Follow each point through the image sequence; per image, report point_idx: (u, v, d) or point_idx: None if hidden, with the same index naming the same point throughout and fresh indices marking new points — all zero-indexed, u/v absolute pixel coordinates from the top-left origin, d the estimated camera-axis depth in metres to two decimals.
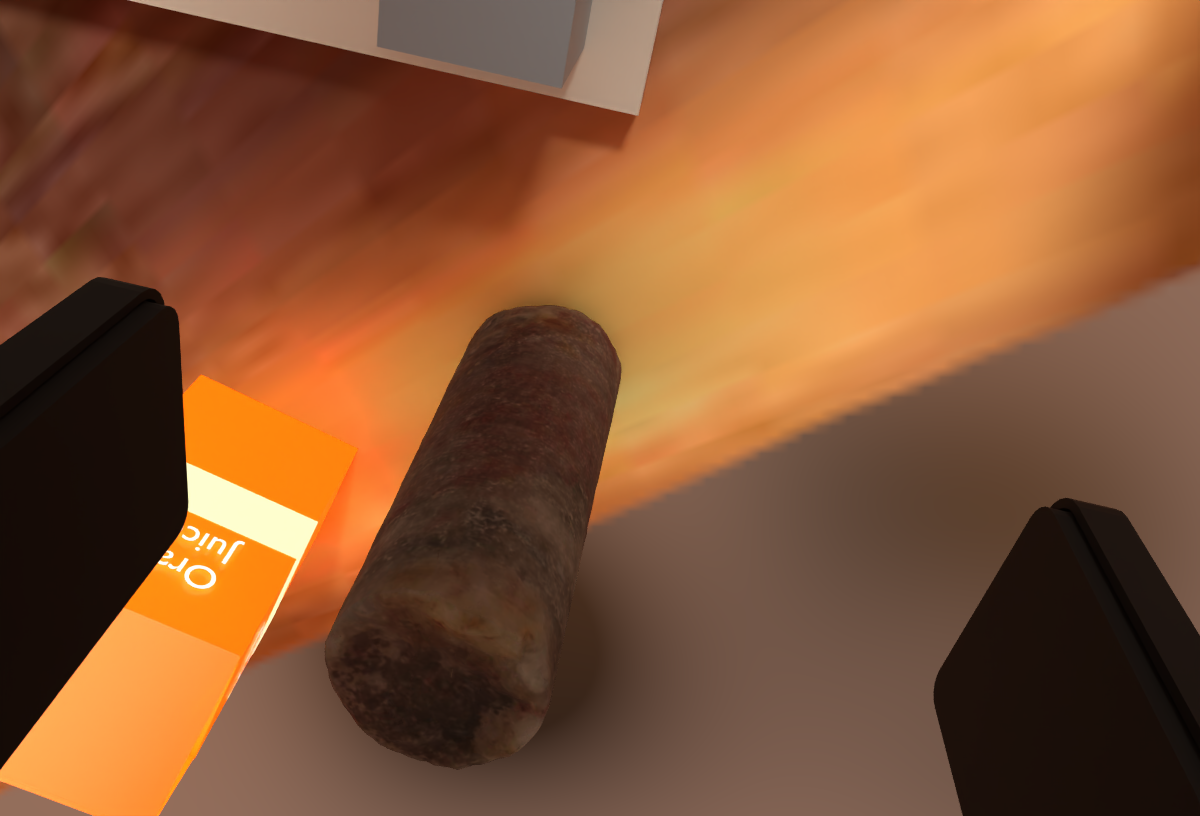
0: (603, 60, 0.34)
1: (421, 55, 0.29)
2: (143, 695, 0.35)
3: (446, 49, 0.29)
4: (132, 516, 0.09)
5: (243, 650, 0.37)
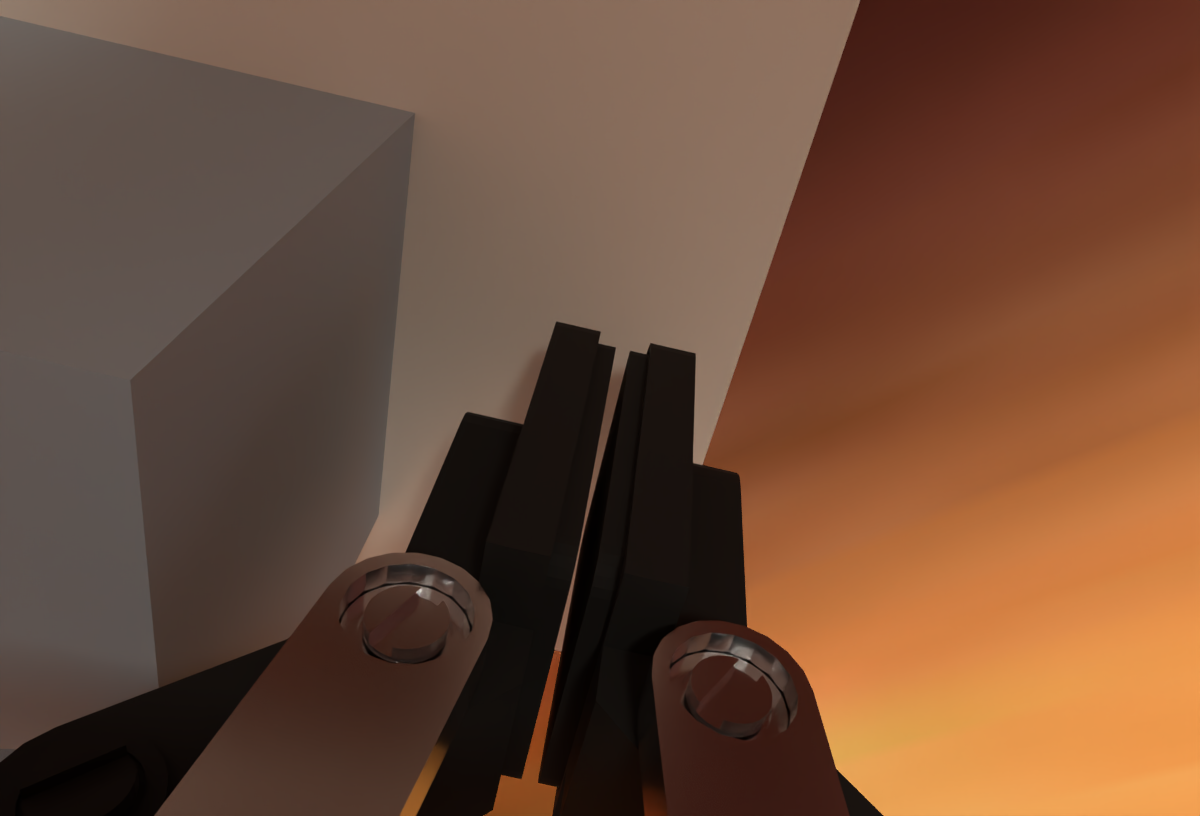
0: None
1: None
2: None
3: None
4: None
5: None
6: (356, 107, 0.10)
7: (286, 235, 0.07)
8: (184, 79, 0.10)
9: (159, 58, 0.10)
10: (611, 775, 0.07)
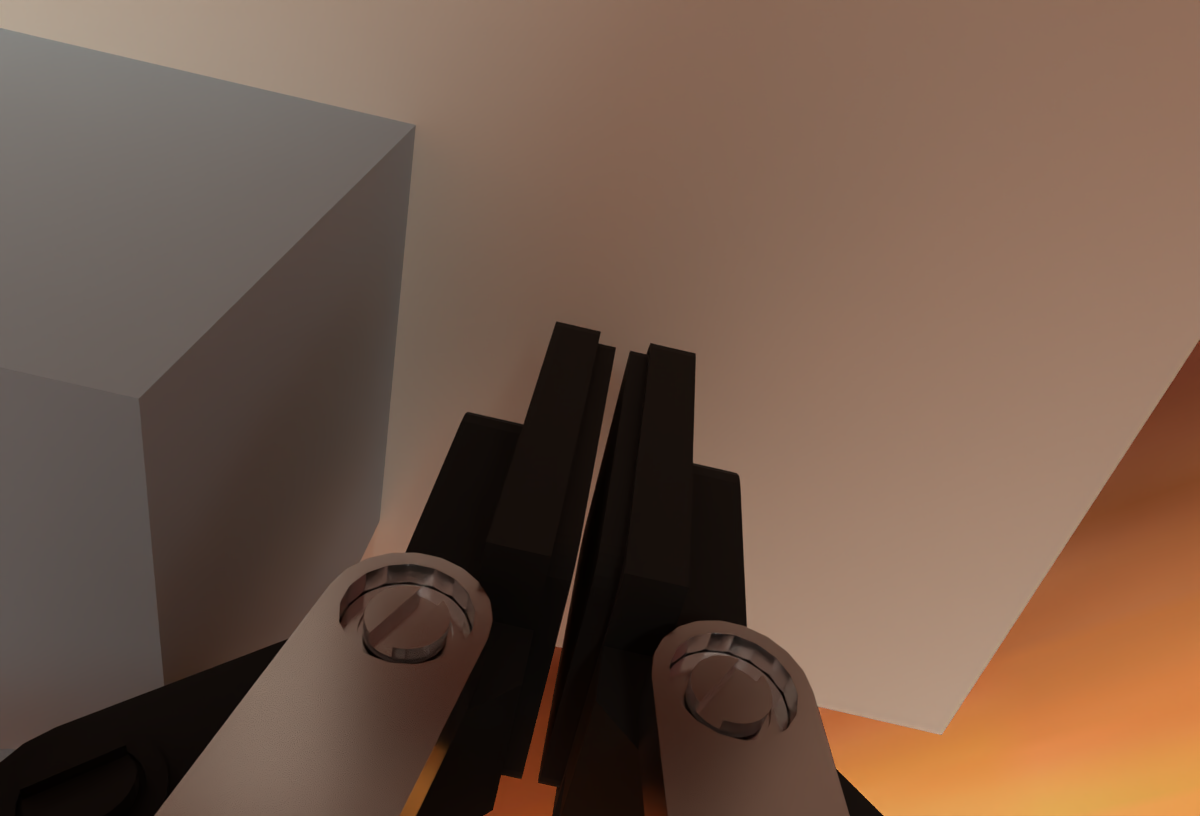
0: (879, 639, 0.14)
1: None
2: None
3: None
4: None
5: None
6: (357, 119, 0.10)
7: (290, 250, 0.07)
8: (187, 92, 0.10)
9: (162, 71, 0.10)
10: (611, 775, 0.07)
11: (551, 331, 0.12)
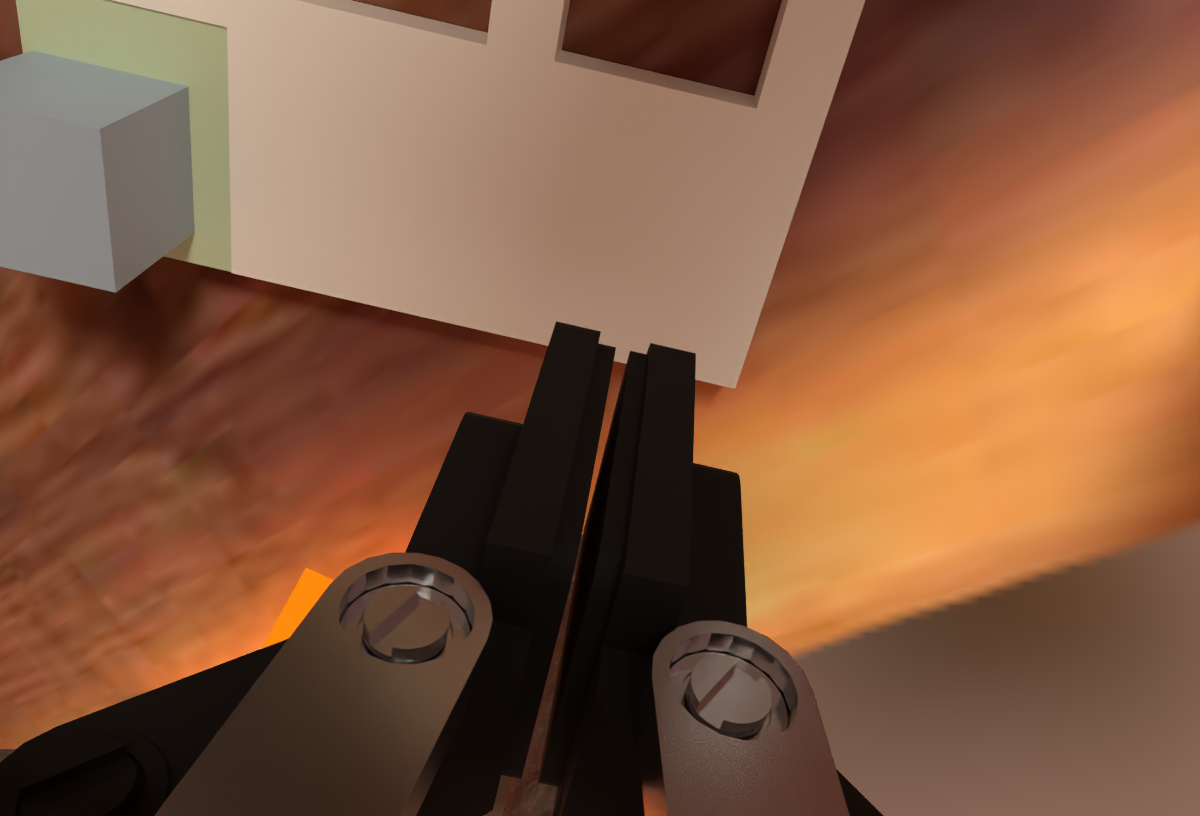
0: (707, 345, 0.38)
1: None
2: None
3: (10, 259, 0.33)
4: None
5: None
6: (169, 85, 0.35)
7: (137, 111, 0.32)
8: (118, 76, 0.34)
9: (112, 70, 0.35)
10: (611, 775, 0.07)
11: (589, 229, 0.36)
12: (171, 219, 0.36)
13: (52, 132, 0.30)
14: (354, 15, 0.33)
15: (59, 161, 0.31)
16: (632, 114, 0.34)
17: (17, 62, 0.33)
